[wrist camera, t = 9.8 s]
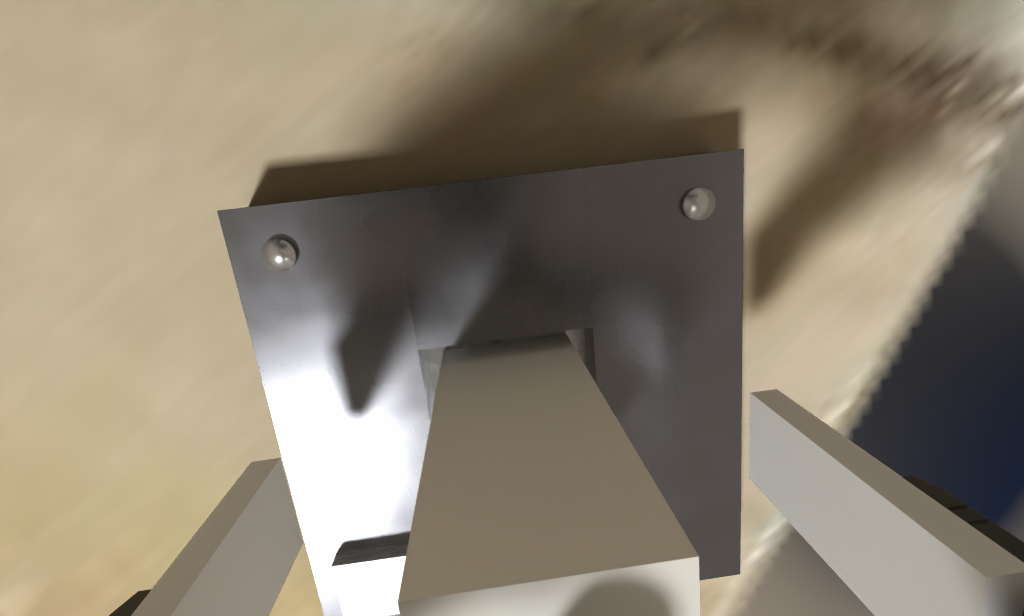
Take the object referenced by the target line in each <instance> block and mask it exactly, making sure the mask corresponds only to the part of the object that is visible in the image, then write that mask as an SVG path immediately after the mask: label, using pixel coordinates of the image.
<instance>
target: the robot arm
mask: <svg viewBox="0 0 1024 616" xmlns="http://www.w3.org/2000/svg"><path fill="white" fill-rule="evenodd" d="M749 478H750V479H751V480H752V482H753V483H754V484H755V485H756V486H757V487H758V488H759V489H760V490H761V491H762V493H763V494H764V495H765V496H766V497H767V498H768V499H769V500H770V501H771V502H772V504H773V505H774V506H775V507H776V508H777V509H778V510H779V511H780V512H781V513H782V514H783V516H784V517H785V518H786V519H787V520H788V521H789V522H790V523H791V524H792V525H793V527H794V528H795V529H796V530H797V531H798V532H799V533H800V534H801V535H802V536H803V537H804V538H805V540H806V541H807V542H808V543H809V544H810V545H811V546H812V547H813V548H814V550H815V551H816V552H817V553H818V554H819V555H820V556H821V557H822V558H823V559H824V560H825V562H826V563H827V564H828V565H829V566H830V567H831V568H832V569H833V570H834V571H835V572H836V574H837V575H838V576H839V577H840V578H841V579H842V580H843V581H844V582H845V583H846V585H847V586H848V587H849V588H850V589H851V590H852V591H853V592H854V593H855V594H856V595H857V597H858V598H859V599H860V600H861V601H862V602H863V603H864V604H865V605H866V606H867V608H868V609H869V610H870V611H871V612H872V613H873V614H874V615H875V616H1024V542H1022V541H1021V540H1019V539H1018V538H1016V537H1014V536H1013V535H1012V534H1010V533H1009V532H1007V531H1006V530H1004V529H1003V528H1001V527H1000V526H998V525H997V524H995V523H990V522H989V520H988V518H986V517H985V516H983V515H982V514H980V513H979V512H977V511H975V510H974V509H972V508H971V509H969V508H968V507H967V504H965V503H964V502H962V501H961V500H959V499H958V498H956V497H954V496H953V495H951V494H950V493H949V492H947V491H946V490H944V489H943V488H940V487H938V486H936V485H933V484H931V483H929V482H926V481H924V480H921V479H919V478H917V477H914V476H904V477H901V476H899V475H898V474H897V473H895V472H894V471H892V470H891V469H890V468H888V467H887V466H885V465H884V464H882V463H881V462H880V461H878V460H877V459H875V458H874V457H872V456H871V455H870V454H868V453H867V452H865V451H864V450H862V449H861V448H859V447H858V446H857V445H855V444H854V443H852V442H851V441H850V440H848V439H847V438H845V437H844V436H843V435H841V434H840V433H838V432H837V431H835V430H834V429H833V428H831V427H830V426H828V425H827V424H825V423H824V422H823V421H821V420H820V419H818V418H817V417H815V416H814V415H813V414H811V413H810V412H808V411H807V410H806V409H804V408H803V407H801V406H800V405H798V404H797V403H796V402H794V401H793V400H791V399H790V398H788V397H787V396H786V395H784V394H783V393H781V392H780V391H778V390H777V389H775V390H767V391H760V392H753V393H750V441H749ZM302 544H303V541H302V537H301V533H300V530H299V526H298V522H297V518H296V515H295V511H294V507H293V504H292V500H291V496H290V492H289V489H288V485H287V481H286V478H285V474H284V470H283V466H282V463H281V459H280V458H277V459H269V460H262V461H255V462H251V463H250V465H249V466H248V467H247V468H246V470H245V471H244V472H243V474H242V475H241V476H240V477H239V479H238V480H237V481H236V483H235V484H234V485H233V486H232V488H231V489H230V490H229V491H228V493H227V494H226V495H225V497H224V498H223V499H222V500H221V502H220V503H219V504H218V505H217V507H216V508H215V509H214V511H213V512H212V513H211V514H210V516H209V517H208V518H207V520H206V521H205V522H204V523H203V525H202V526H201V527H200V528H199V530H198V531H197V532H196V534H195V535H194V536H193V537H192V539H191V540H190V541H189V542H188V544H187V545H186V546H185V548H184V549H183V550H182V551H181V553H180V554H179V555H178V557H177V558H176V559H175V560H174V562H173V563H172V564H171V565H170V567H169V568H168V569H167V571H166V572H165V573H164V574H163V576H162V577H161V578H160V579H159V581H158V582H157V583H156V585H155V586H154V587H153V588H152V589H151V590H144V591H138V592H137V593H136V594H135V595H133V596H132V597H131V598H130V599H129V600H127V601H126V602H125V603H124V604H122V605H121V606H120V607H119V608H118V609H116V610H115V611H114V612H113V613H111V614H110V615H109V616H269V614H270V612H271V610H272V608H273V606H274V603H275V601H276V599H277V597H278V595H279V593H280V591H281V588H282V586H283V584H284V582H285V580H286V578H287V576H288V574H289V571H290V569H291V567H292V565H293V563H294V561H295V559H296V557H297V554H298V552H299V550H300V548H301V546H302Z"/></svg>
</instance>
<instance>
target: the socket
mask: <svg viewBox="0 0 1024 616" xmlns="http://www.w3.org/2000/svg"><path fill="white" fill-rule="evenodd" d="M743 173H744V149H739V150H730V151H722V152H713V153H705V154H696V155H688V156H679V157H671V158H662V159H654V160H645V161H637V162H628V163H620V164H611V165H603V166H594V167H586V168H577V169H569V170H560V171H552V172H543V173H535V174H526V175H518V176H509V177H501V178H492V179H484V180H475V181H467V182H458V183H450V184H441V185H432V186H424V187H415V188H407V189H398V190H390V191H381V192H373V193H364V194H356V195H347V196H339V197H330V198H322V199H313V200H305V201H296V202H288V203H279V204H271V205H262V206H254V207H245V208H237V209H228V210H220V211H217V212H218V216H219V219H220V223H221V227H222V231H223V235H224V238H225V242H226V246H227V250H228V253H229V257H230V261H231V265H232V269H233V272H234V276H235V280H236V284H237V288H238V291H239V295H240V299H241V303H242V306H243V310H244V314H245V318H246V322H247V325H248V329H249V333H250V337H251V340H252V344H253V348H254V352H255V356H256V359H257V363H258V367H259V371H260V375H261V378H262V382H263V386H264V390H265V393H266V397H267V401H268V405H269V409H270V412H271V416H272V420H273V424H274V427H275V431H276V435H277V439H278V443H279V446H280V450H281V454H282V458H283V462H284V465H285V469H286V473H287V477H288V480H289V484H290V488H291V492H292V496H293V499H294V503H295V507H296V511H297V514H298V518H299V522H300V526H301V530H302V533H303V537H304V541H305V545H306V549H307V552H308V556H309V560H310V564H311V567H312V571H313V575H314V579H315V583H316V586H317V590H318V594H319V598H320V601H321V605H322V609H323V613H324V616H400V612H399V607H398V603H397V602H398V597H399V592H400V586H401V581H402V575H403V570H404V564H405V559H406V553H407V548H408V542H409V537H410V532H411V526H412V521H413V515H414V510H415V504H416V499H417V493H418V488H419V482H420V477H421V472H422V466H423V461H424V455H425V450H426V444H427V439H428V433H429V428H430V422H431V417H432V412H433V406H434V401H435V395H436V390H437V384H438V379H439V373H440V368H441V362H442V357H443V352H444V350H450V349H458V348H466V347H473V346H481V345H488V344H496V343H504V342H511V341H519V340H526V339H534V338H541V337H549V336H557V335H564V334H567V336H568V338H569V339H570V341H571V343H572V344H573V346H574V348H575V349H576V351H577V353H578V354H579V356H580V358H581V359H582V361H583V363H584V365H585V366H586V368H587V370H588V371H589V373H590V375H591V376H592V378H593V380H594V381H595V383H596V385H597V386H598V388H599V390H600V391H601V393H602V395H603V396H604V398H605V400H606V401H607V403H608V405H609V406H610V408H611V410H612V411H613V413H614V415H615V417H616V418H617V420H618V422H619V423H620V425H621V427H622V428H623V430H624V432H625V433H626V435H627V437H628V438H629V440H630V442H631V443H632V445H633V447H634V448H635V450H636V452H637V453H638V455H639V457H640V458H641V460H642V462H643V463H644V465H645V467H646V469H647V470H648V472H649V474H650V475H651V477H652V479H653V480H654V482H655V484H656V485H657V487H658V489H659V490H660V492H661V494H662V495H663V497H664V499H665V500H666V502H667V504H668V505H669V507H670V509H671V510H672V512H673V514H674V515H675V517H676V519H677V521H678V522H679V524H680V526H681V527H682V529H683V531H684V532H685V534H686V536H687V537H688V539H689V541H690V542H691V544H692V546H693V547H694V549H695V551H696V552H697V554H698V556H699V580H705V579H711V578H718V577H724V576H731V575H737V574H740V534H741V414H742V294H743Z"/></svg>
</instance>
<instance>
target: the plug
mask: <svg viewBox="0 0 1024 616" xmlns="http://www.w3.org/2000/svg"><path fill="white" fill-rule="evenodd" d="M397 603H398V607H399V612H400V616H700V587H699V556H698V554H697V552H696V551H695V549H694V547H693V546H692V544H691V542H690V541H689V539H688V537H687V536H686V534H685V532H684V531H683V529H682V527H681V526H680V524H679V522H678V521H677V519H676V517H675V515H674V514H673V512H672V510H671V509H670V507H669V505H668V504H667V502H666V500H665V499H664V497H663V495H662V494H661V492H660V490H659V489H658V487H657V485H656V484H655V482H654V480H653V479H652V477H651V475H650V474H649V472H648V470H647V469H646V467H645V465H644V463H643V462H642V460H641V458H640V457H639V455H638V453H637V452H636V450H635V448H634V447H633V445H632V443H631V442H630V440H629V438H628V437H627V435H626V433H625V432H624V430H623V428H622V427H621V425H620V423H619V422H618V420H617V418H616V417H615V415H614V413H613V411H612V410H611V408H610V406H609V405H608V403H607V401H606V400H605V398H604V396H603V395H602V393H601V391H600V390H599V388H598V386H597V385H596V383H595V381H594V380H593V378H592V376H591V375H590V373H589V371H588V370H587V368H586V366H585V365H584V363H583V361H582V359H581V358H580V356H579V354H578V353H577V351H576V349H575V348H574V346H573V344H572V343H571V341H570V339H569V338H568V336H567V334H564V335H557V336H549V337H541V338H534V339H526V340H519V341H511V342H504V343H496V344H488V345H481V346H473V347H466V348H458V349H450V350H444V352H443V357H442V362H441V368H440V373H439V379H438V384H437V390H436V395H435V401H434V406H433V412H432V417H431V422H430V428H429V433H428V439H427V444H426V450H425V455H424V461H423V466H422V472H421V477H420V482H419V488H418V493H417V499H416V504H415V510H414V515H413V521H412V526H411V532H410V537H409V542H408V548H407V553H406V559H405V564H404V570H403V575H402V581H401V586H400V592H399V597H398V602H397Z"/></svg>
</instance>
